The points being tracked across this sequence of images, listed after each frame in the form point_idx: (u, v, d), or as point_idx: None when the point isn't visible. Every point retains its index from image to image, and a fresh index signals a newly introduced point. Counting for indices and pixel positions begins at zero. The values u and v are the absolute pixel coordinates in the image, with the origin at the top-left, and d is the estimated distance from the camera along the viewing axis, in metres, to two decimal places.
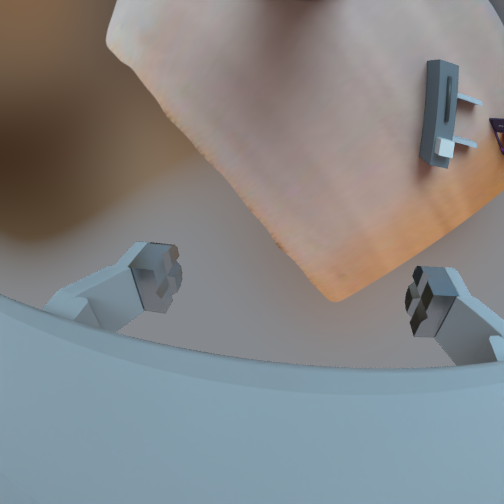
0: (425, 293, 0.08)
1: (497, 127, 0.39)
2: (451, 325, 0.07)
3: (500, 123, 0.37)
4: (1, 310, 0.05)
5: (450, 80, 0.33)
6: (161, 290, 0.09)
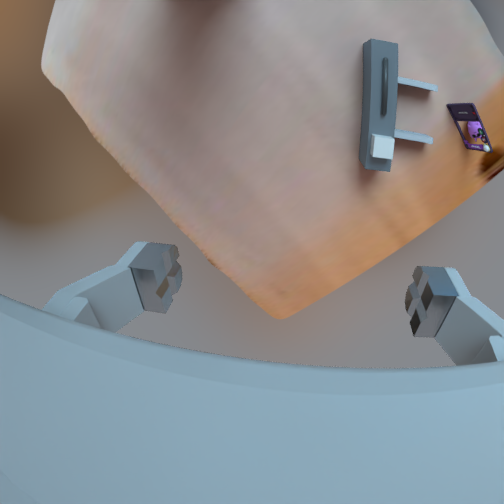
0: (425, 293, 0.08)
1: (457, 115, 0.35)
2: (451, 325, 0.07)
3: (460, 109, 0.33)
4: (1, 310, 0.05)
5: (385, 62, 0.30)
6: (161, 290, 0.09)
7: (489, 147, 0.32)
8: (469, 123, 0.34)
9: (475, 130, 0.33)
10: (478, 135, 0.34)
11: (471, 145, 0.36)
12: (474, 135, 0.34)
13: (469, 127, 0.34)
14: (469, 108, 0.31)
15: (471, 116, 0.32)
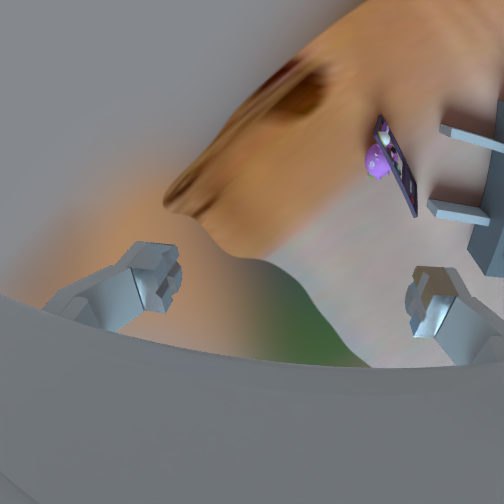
0: (425, 293, 0.08)
1: None
2: (451, 325, 0.07)
3: (412, 189, 0.26)
4: (1, 310, 0.05)
5: None
6: (161, 290, 0.09)
7: (382, 142, 0.22)
8: None
9: (393, 161, 0.24)
10: None
11: (388, 127, 0.24)
12: (393, 152, 0.24)
13: (396, 161, 0.25)
14: (413, 204, 0.25)
15: (407, 188, 0.25)
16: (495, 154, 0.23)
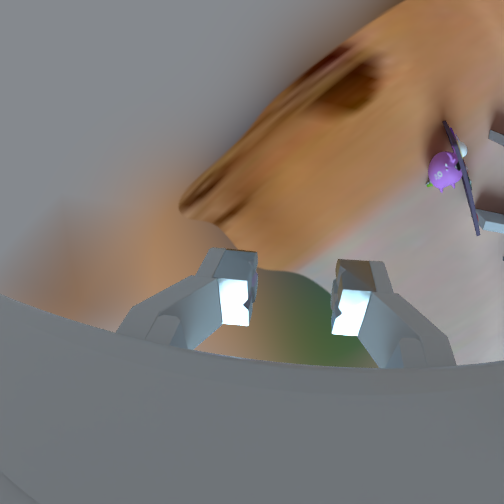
0: (340, 287, 0.08)
1: None
2: (370, 323, 0.07)
3: None
4: (1, 310, 0.05)
5: None
6: (246, 301, 0.08)
7: (461, 154, 0.17)
8: None
9: (461, 173, 0.20)
10: (458, 165, 0.19)
11: (456, 136, 0.19)
12: None
13: None
14: None
15: None
16: None
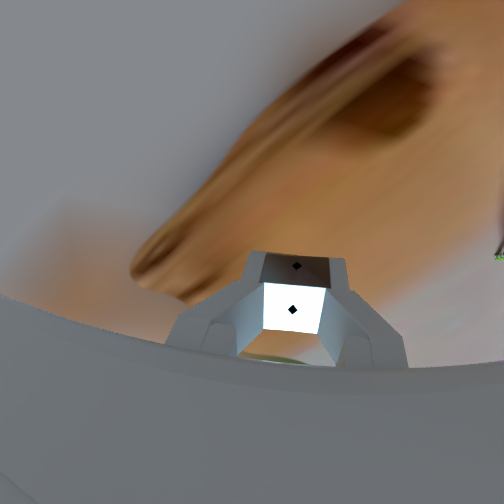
0: None
1: None
2: (326, 321, 0.08)
3: None
4: (1, 310, 0.05)
5: None
6: (290, 306, 0.08)
7: None
8: None
9: None
10: None
11: None
12: None
13: None
14: None
15: None
16: None
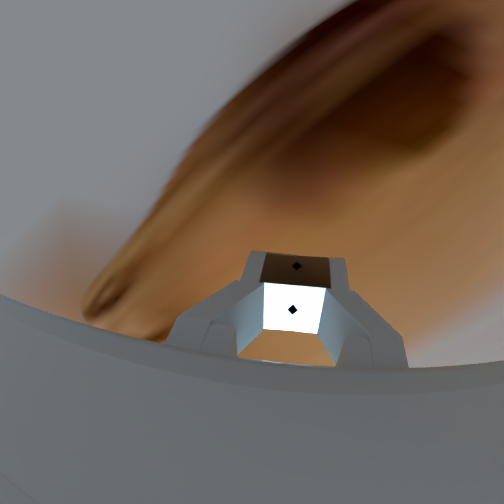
0: None
1: None
2: (326, 320, 0.08)
3: None
4: (1, 310, 0.05)
5: None
6: (290, 305, 0.08)
7: None
8: None
9: None
10: None
11: None
12: None
13: None
14: None
15: None
16: None
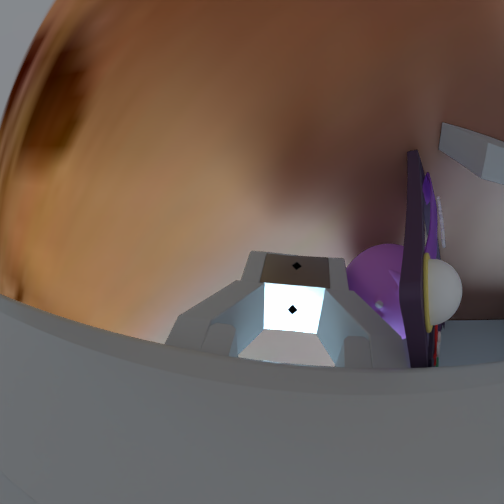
0: None
1: None
2: (326, 320, 0.08)
3: None
4: (1, 310, 0.05)
5: None
6: (290, 306, 0.08)
7: (427, 326, 0.04)
8: None
9: None
10: None
11: None
12: None
13: None
14: None
15: None
16: None
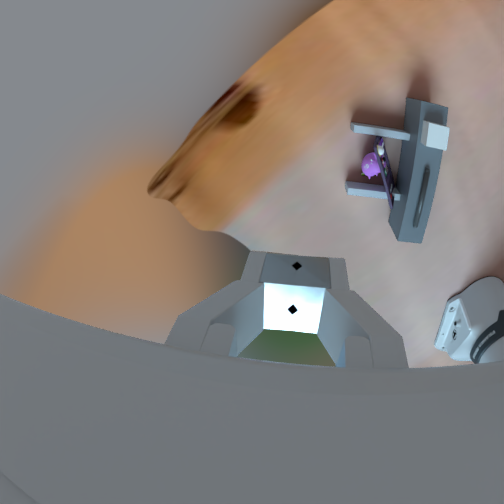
0: None
1: (389, 177, 0.38)
2: (326, 320, 0.08)
3: (391, 189, 0.38)
4: (1, 310, 0.05)
5: (417, 223, 0.35)
6: (290, 305, 0.08)
7: (378, 153, 0.32)
8: None
9: None
10: None
11: (383, 143, 0.35)
12: (384, 161, 0.35)
13: (384, 167, 0.36)
14: (391, 199, 0.36)
15: (388, 187, 0.36)
16: (403, 142, 0.35)
